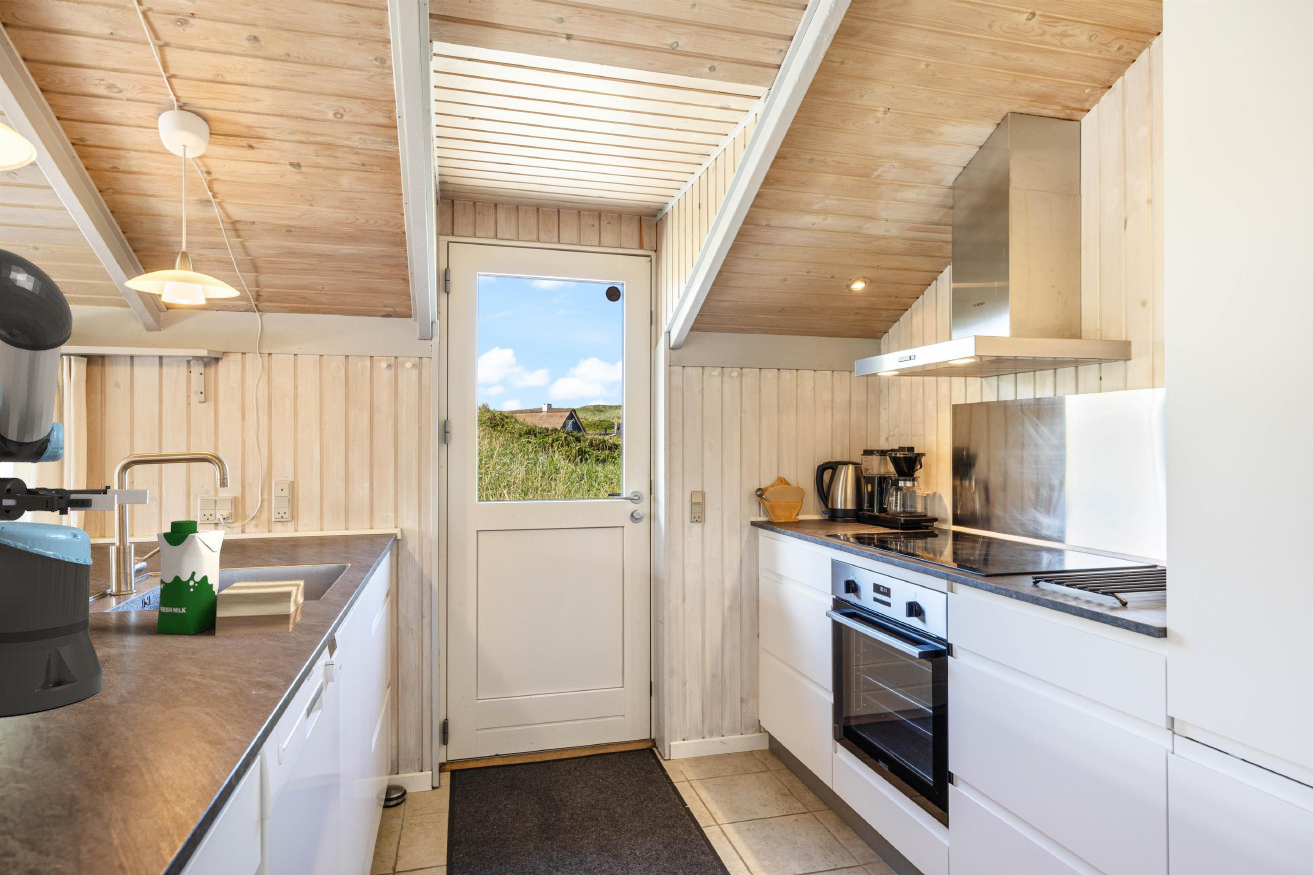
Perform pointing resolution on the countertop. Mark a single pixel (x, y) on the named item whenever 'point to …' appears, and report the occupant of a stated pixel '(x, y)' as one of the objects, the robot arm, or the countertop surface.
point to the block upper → (260, 598)
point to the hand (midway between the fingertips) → (133, 499)
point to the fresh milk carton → (188, 578)
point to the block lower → (258, 623)
